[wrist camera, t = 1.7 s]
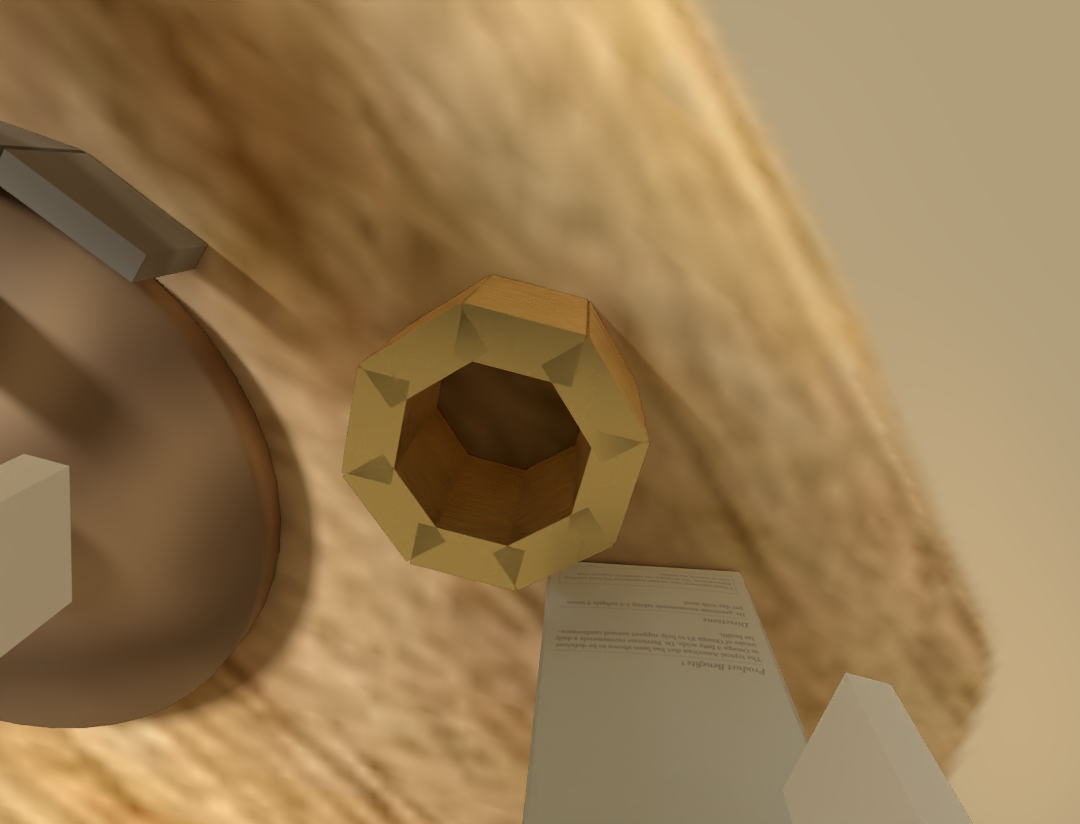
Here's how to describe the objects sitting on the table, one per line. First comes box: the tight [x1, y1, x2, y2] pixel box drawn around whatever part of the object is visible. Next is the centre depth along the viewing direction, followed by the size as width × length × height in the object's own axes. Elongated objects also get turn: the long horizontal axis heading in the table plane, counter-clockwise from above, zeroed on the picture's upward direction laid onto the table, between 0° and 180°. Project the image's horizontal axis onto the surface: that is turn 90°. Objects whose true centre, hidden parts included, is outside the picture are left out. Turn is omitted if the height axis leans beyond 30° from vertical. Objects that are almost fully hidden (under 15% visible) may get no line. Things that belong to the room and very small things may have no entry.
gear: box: [342, 275, 649, 591], centre depth 19 cm, size 8×8×5 cm
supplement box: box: [522, 562, 809, 824], centre depth 19 cm, size 7×7×13 cm
